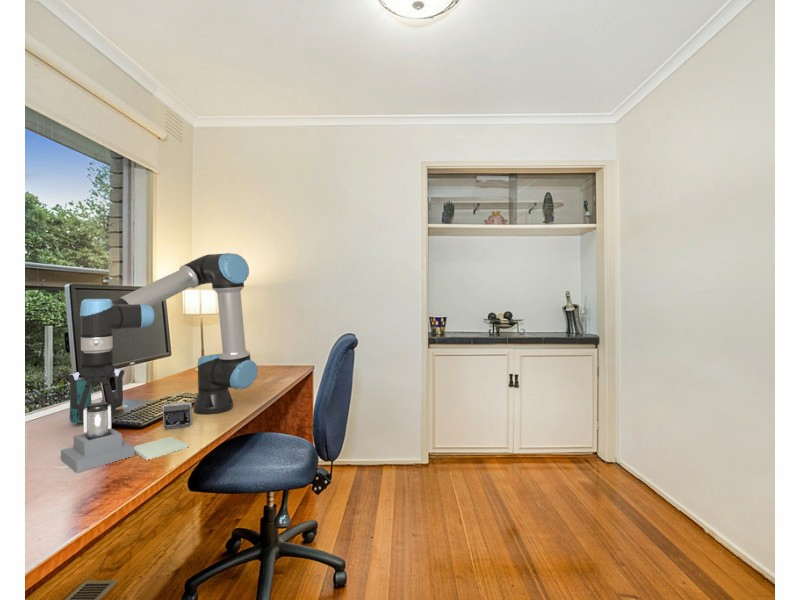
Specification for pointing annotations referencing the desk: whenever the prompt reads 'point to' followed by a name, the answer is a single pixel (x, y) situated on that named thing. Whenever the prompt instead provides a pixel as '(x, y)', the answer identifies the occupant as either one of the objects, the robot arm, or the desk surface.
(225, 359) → the robot arm
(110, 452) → the socket block
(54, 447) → the desk surface
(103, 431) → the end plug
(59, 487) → the desk surface
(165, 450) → the sage board
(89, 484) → the desk surface
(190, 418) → the electrical switch
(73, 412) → the beverage bottle
